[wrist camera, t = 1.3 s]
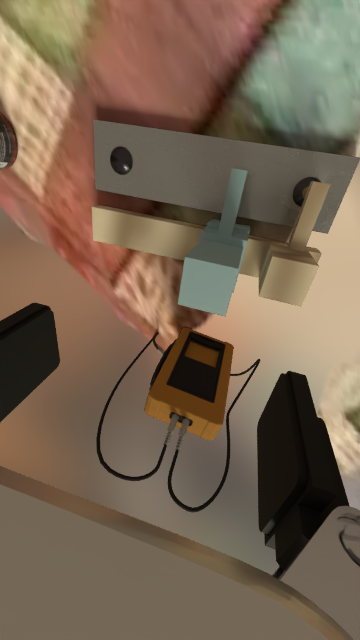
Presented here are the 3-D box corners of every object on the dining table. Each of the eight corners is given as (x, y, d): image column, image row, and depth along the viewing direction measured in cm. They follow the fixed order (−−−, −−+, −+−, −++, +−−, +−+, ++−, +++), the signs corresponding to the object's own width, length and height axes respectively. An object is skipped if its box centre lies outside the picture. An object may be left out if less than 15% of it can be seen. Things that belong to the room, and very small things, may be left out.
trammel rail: (343, 187, 22) (373, 190, 17) (303, 281, 27) (315, 310, 21) (100, 148, 26) (54, 139, 20) (102, 236, 31) (65, 250, 25)
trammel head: (264, 174, 23) (269, 171, 13) (236, 276, 28) (225, 328, 19) (222, 167, 24) (196, 159, 14) (202, 268, 29) (173, 314, 19)
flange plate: (355, 158, 21) (360, 157, 20) (324, 231, 24) (327, 233, 23) (99, 121, 25) (92, 119, 24) (101, 188, 28) (94, 189, 27)
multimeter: (145, 367, 40) (61, 506, 23) (158, 315, 34) (61, 446, 17) (234, 403, 38) (215, 579, 21) (262, 354, 33) (266, 538, 16)
